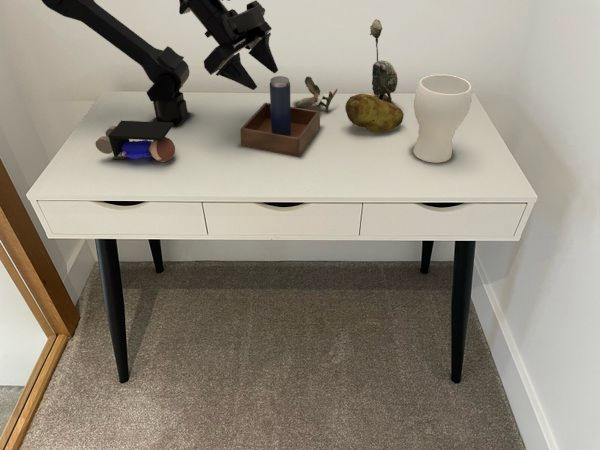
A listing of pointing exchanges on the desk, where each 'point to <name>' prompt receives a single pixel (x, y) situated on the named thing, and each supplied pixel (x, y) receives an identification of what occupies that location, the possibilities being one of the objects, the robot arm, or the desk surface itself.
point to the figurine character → (133, 149)
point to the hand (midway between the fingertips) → (266, 80)
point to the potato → (373, 113)
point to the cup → (440, 114)
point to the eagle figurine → (315, 95)
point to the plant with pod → (382, 72)
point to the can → (280, 105)
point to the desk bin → (262, 137)
